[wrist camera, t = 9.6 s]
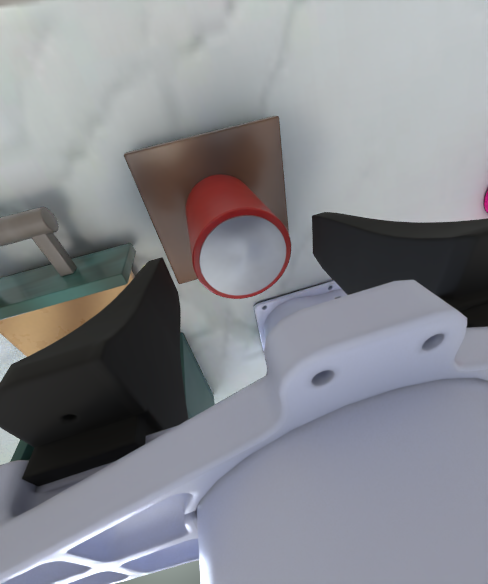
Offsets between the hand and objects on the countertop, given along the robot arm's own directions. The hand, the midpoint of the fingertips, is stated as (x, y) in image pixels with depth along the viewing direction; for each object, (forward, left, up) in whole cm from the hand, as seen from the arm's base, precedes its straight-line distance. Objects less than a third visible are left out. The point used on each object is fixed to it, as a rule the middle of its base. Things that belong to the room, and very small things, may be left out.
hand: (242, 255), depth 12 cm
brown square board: (0, 0, -9) cm, 9 cm away
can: (0, 0, -6) cm, 6 cm away
